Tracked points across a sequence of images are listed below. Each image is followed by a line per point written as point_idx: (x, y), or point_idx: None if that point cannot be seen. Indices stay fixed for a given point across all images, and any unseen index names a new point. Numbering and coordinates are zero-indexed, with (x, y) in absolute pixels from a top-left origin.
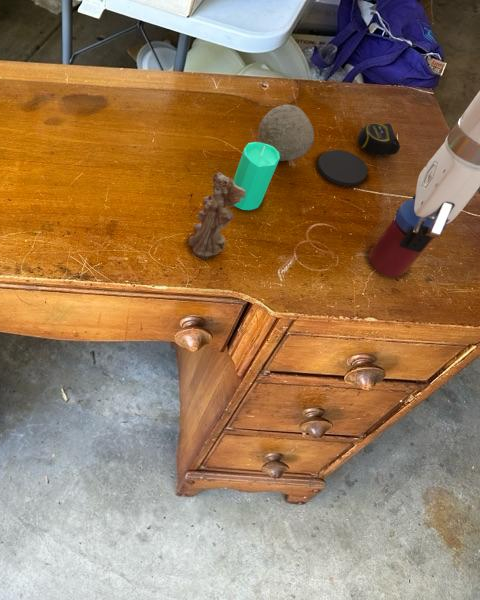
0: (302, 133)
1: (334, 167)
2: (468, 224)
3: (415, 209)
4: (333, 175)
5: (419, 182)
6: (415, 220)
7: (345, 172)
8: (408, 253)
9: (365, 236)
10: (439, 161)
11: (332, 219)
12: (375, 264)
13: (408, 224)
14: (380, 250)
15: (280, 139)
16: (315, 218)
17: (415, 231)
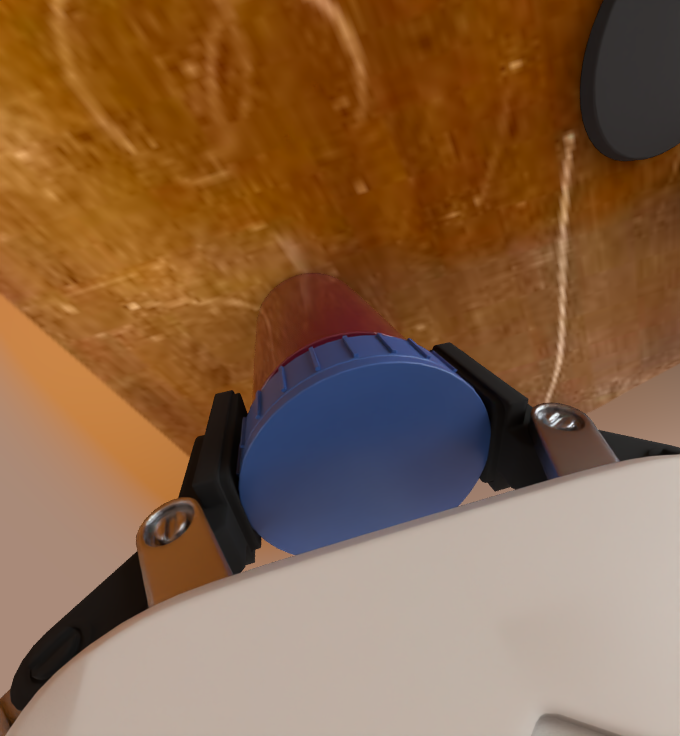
0: None
1: (672, 2)
2: None
3: (116, 660)
4: (627, 11)
5: (620, 536)
6: (301, 466)
7: (645, 67)
8: None
9: (375, 240)
10: None
11: (399, 93)
12: (263, 305)
13: (248, 445)
14: (273, 308)
15: None
16: (373, 3)
17: (139, 534)
